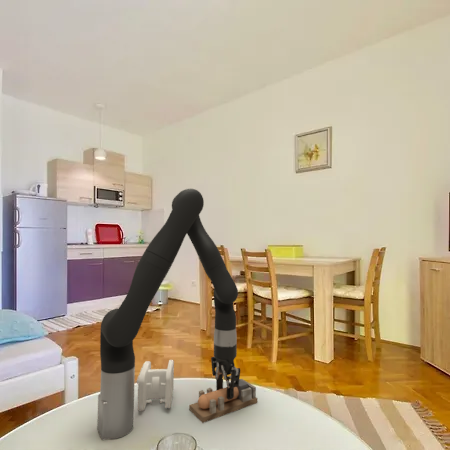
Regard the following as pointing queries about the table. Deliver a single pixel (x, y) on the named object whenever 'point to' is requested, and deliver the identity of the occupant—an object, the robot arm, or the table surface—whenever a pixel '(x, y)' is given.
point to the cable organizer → (155, 385)
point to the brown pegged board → (224, 404)
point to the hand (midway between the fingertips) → (224, 394)
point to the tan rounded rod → (205, 398)
